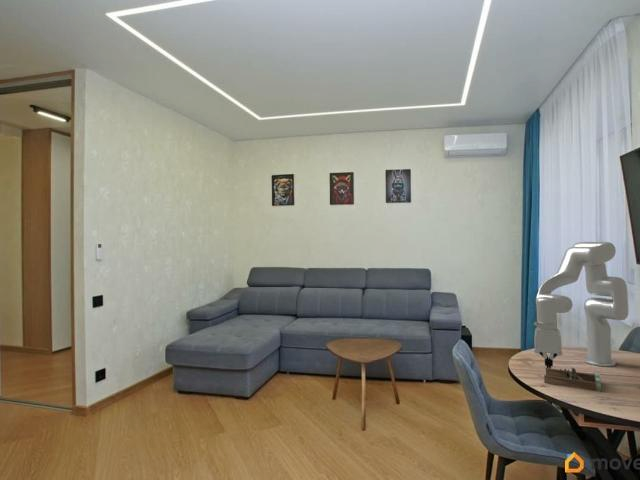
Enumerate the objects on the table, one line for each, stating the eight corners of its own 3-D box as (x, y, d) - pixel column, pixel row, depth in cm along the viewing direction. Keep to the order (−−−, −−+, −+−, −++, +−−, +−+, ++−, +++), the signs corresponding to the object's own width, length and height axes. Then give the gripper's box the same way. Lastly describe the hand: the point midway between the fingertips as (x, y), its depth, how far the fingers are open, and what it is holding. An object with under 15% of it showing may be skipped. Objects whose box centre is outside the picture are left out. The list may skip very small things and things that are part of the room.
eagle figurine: (556, 377, 169) (572, 381, 160) (561, 362, 170) (578, 364, 162) (570, 385, 169) (588, 389, 160) (576, 370, 171) (593, 373, 162)
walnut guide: (546, 374, 176) (545, 365, 176) (599, 382, 165) (599, 372, 165) (544, 382, 166) (544, 373, 166) (600, 391, 155) (600, 381, 155)
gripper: (527, 326, 172) (528, 367, 172) (567, 329, 163) (569, 372, 164) (528, 322, 178) (530, 362, 178) (567, 325, 170) (569, 367, 170)
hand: (548, 367), depth 171 cm, fingers closed
